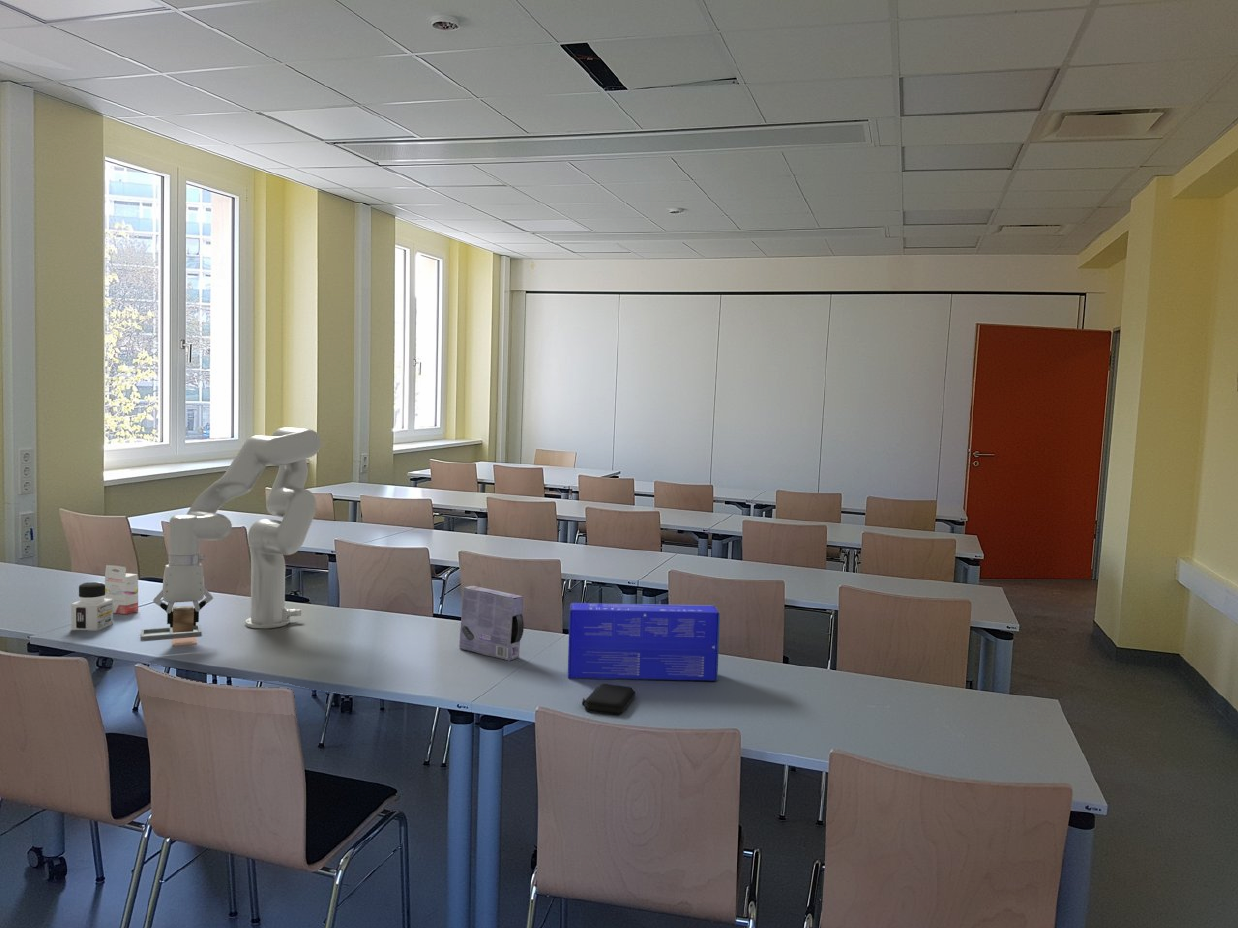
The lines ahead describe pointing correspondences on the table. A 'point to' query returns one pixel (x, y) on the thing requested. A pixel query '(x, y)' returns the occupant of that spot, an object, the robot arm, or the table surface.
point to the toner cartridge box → (643, 642)
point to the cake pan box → (491, 622)
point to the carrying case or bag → (609, 699)
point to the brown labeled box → (183, 619)
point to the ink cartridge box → (121, 589)
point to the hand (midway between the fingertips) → (182, 624)
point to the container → (91, 608)
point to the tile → (184, 641)
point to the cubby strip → (168, 633)
